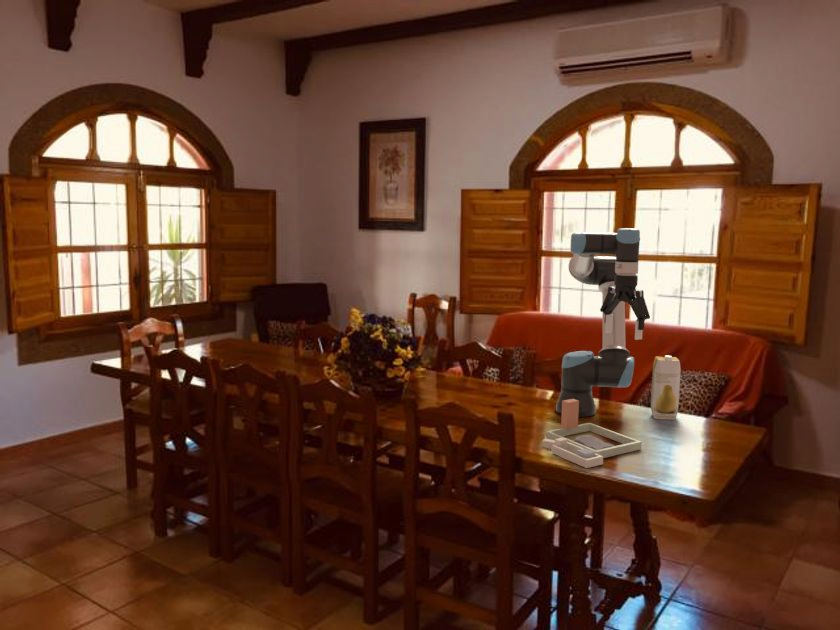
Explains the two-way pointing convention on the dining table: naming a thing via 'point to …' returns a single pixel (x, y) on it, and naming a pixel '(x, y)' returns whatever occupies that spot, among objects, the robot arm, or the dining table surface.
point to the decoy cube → (585, 453)
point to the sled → (563, 446)
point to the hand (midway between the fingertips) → (623, 336)
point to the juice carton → (665, 387)
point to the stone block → (592, 442)
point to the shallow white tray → (571, 427)
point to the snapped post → (548, 443)
